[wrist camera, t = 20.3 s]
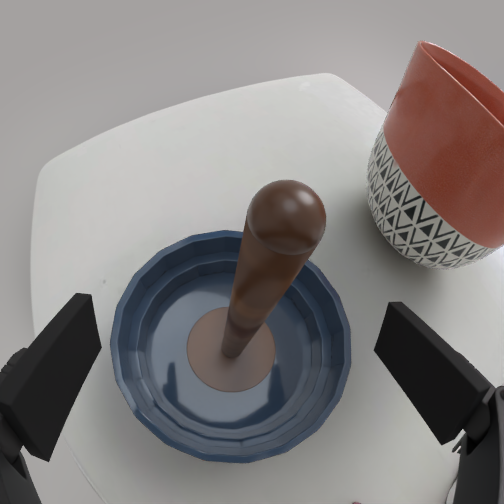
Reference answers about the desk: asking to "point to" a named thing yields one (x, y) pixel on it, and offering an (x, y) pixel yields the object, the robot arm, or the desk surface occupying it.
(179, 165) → the desk surface
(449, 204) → the planter
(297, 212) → the masher
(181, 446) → the bowl
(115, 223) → the desk surface
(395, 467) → the desk surface
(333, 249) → the desk surface
